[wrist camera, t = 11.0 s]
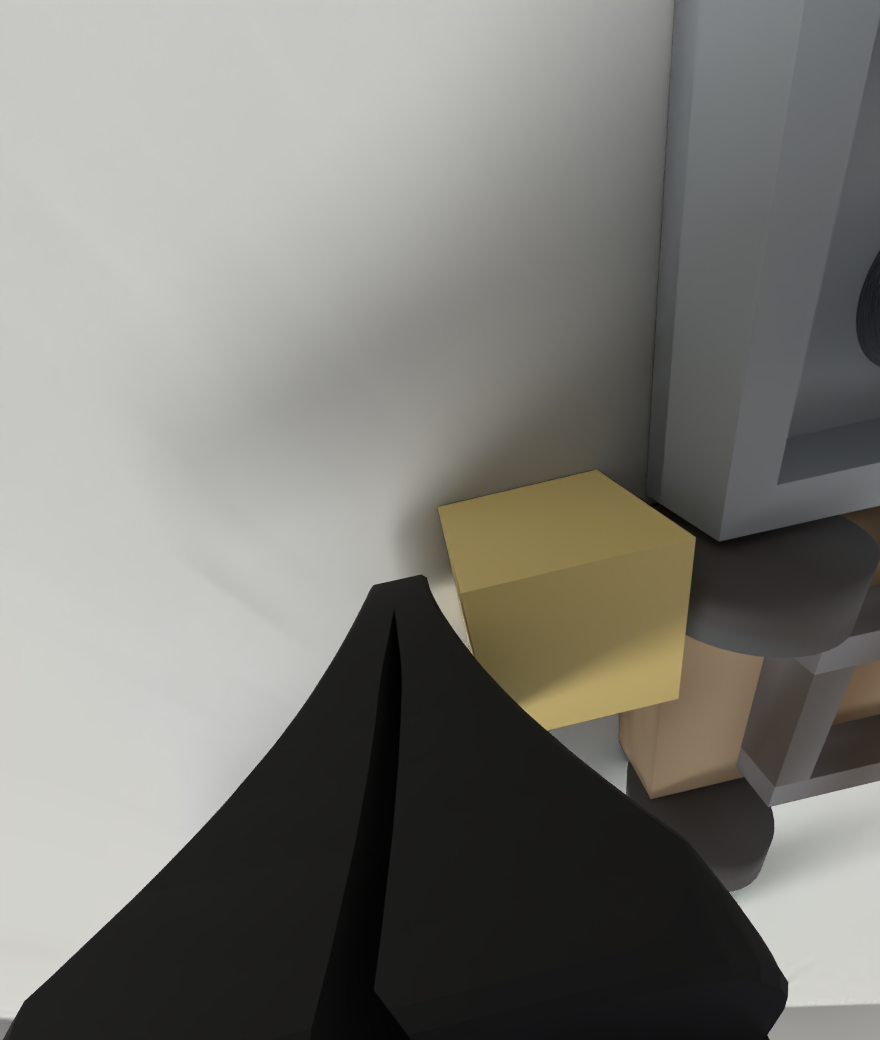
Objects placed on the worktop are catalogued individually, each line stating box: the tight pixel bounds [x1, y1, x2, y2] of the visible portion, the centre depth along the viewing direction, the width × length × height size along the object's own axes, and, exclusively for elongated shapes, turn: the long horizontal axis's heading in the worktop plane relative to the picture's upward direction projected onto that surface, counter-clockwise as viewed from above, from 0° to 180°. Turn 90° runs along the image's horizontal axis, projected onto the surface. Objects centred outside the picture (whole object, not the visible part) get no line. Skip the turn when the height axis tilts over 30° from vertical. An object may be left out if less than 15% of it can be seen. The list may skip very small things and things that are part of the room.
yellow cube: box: [438, 470, 696, 731], centre depth 9 cm, size 4×4×4 cm
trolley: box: [619, 504, 880, 892], centre depth 11 cm, size 13×11×4 cm
